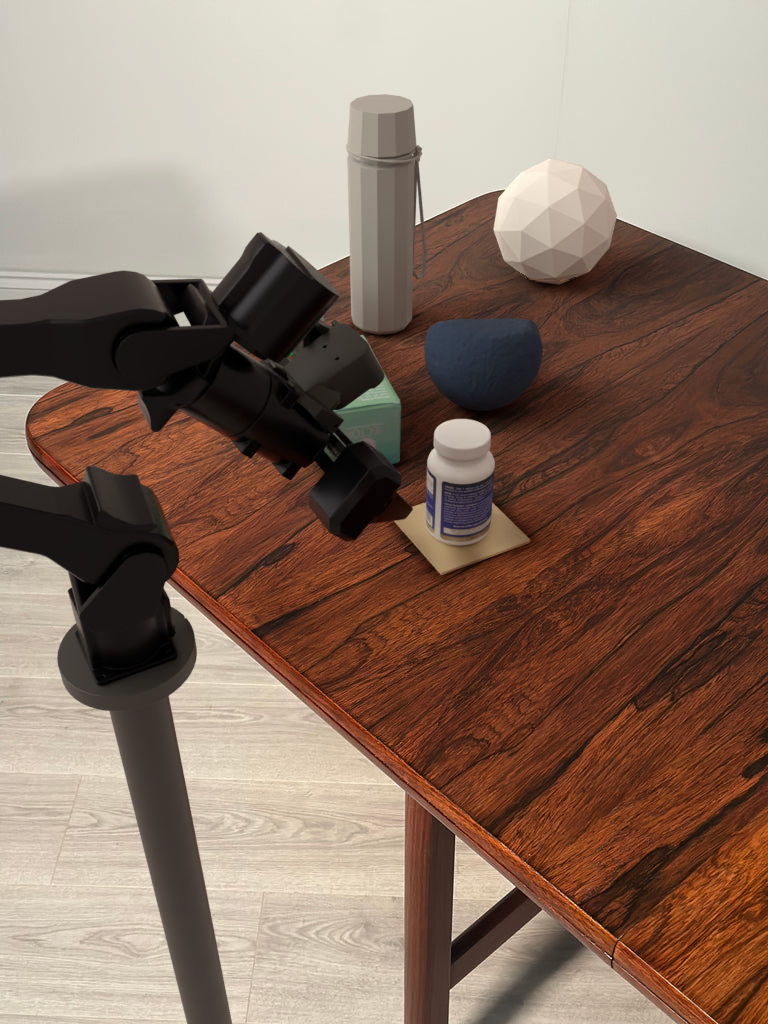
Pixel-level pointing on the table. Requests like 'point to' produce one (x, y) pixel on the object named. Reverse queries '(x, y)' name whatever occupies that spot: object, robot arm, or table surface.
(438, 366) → the decorative stone
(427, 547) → the sticky note
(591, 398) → the table surface
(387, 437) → the box
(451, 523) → the pill bottle
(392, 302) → the water bottle
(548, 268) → the geometric sphere
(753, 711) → the table surface
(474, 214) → the table surface
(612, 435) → the table surface
